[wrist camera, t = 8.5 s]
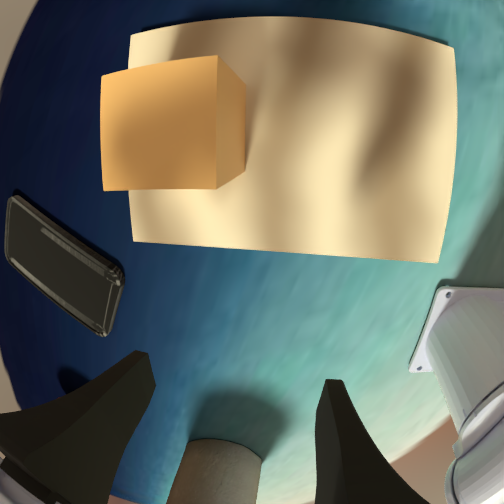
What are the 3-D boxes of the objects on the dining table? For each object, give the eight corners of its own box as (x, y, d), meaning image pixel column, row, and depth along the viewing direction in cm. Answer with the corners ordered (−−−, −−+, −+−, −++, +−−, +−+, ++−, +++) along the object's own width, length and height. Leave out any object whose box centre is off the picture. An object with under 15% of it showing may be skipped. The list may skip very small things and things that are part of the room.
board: (446, 51, 12) (482, 34, 7) (431, 257, 17) (461, 288, 13) (138, 38, 14) (100, 20, 10) (140, 236, 19) (105, 261, 15)
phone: (106, 341, 23) (4, 258, 22) (112, 334, 24) (11, 254, 23) (123, 276, 20) (8, 191, 19) (130, 269, 21) (16, 189, 20)
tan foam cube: (245, 84, 14) (217, 55, 8) (244, 171, 16) (216, 189, 10) (161, 91, 15) (101, 75, 9) (162, 172, 16) (103, 191, 11)
